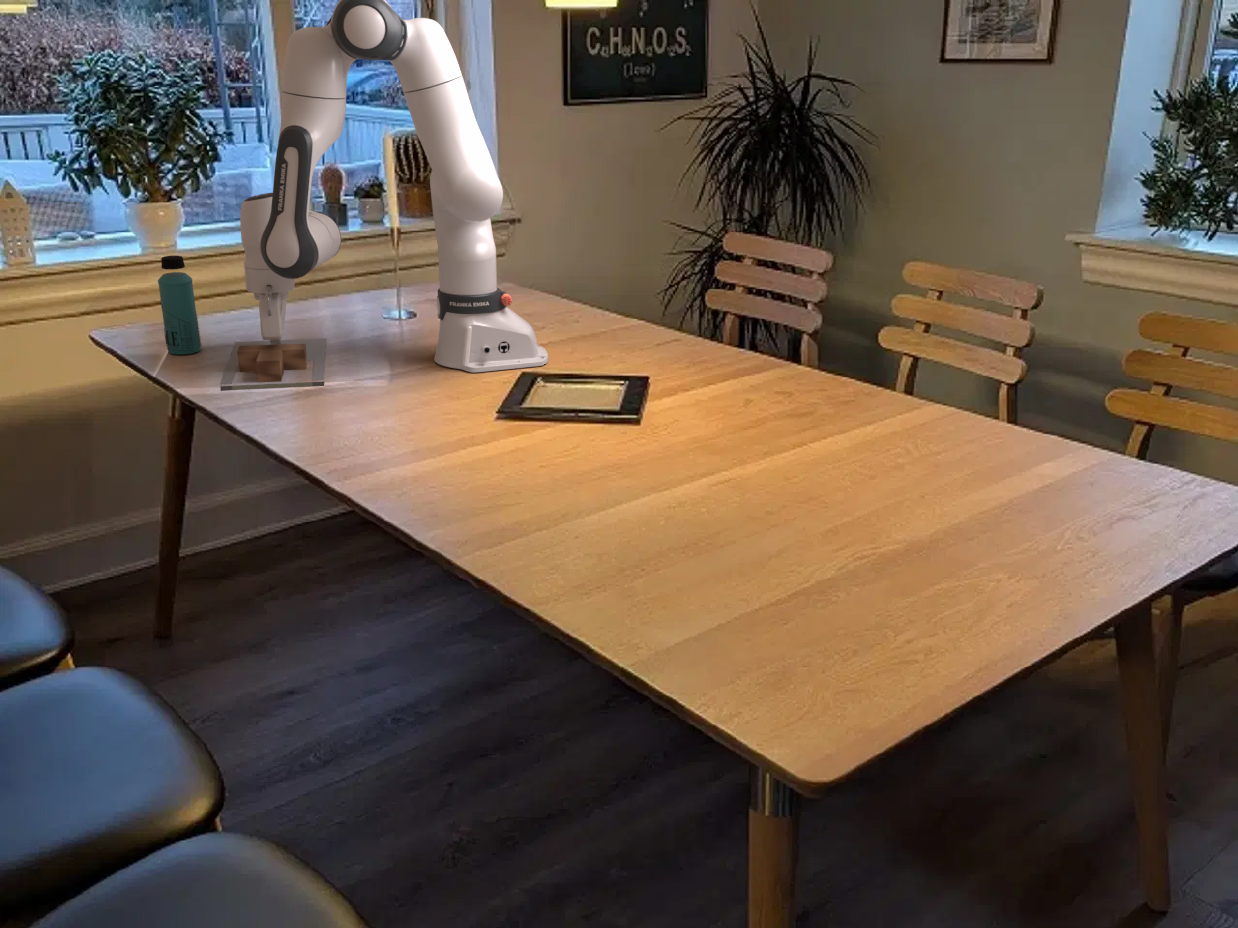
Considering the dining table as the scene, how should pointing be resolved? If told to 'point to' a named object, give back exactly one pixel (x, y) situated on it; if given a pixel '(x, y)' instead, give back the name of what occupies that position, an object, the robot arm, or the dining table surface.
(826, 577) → the dining table surface
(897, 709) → the dining table surface
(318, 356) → the board
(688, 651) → the dining table surface
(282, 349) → the t block
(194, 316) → the beverage bottle
